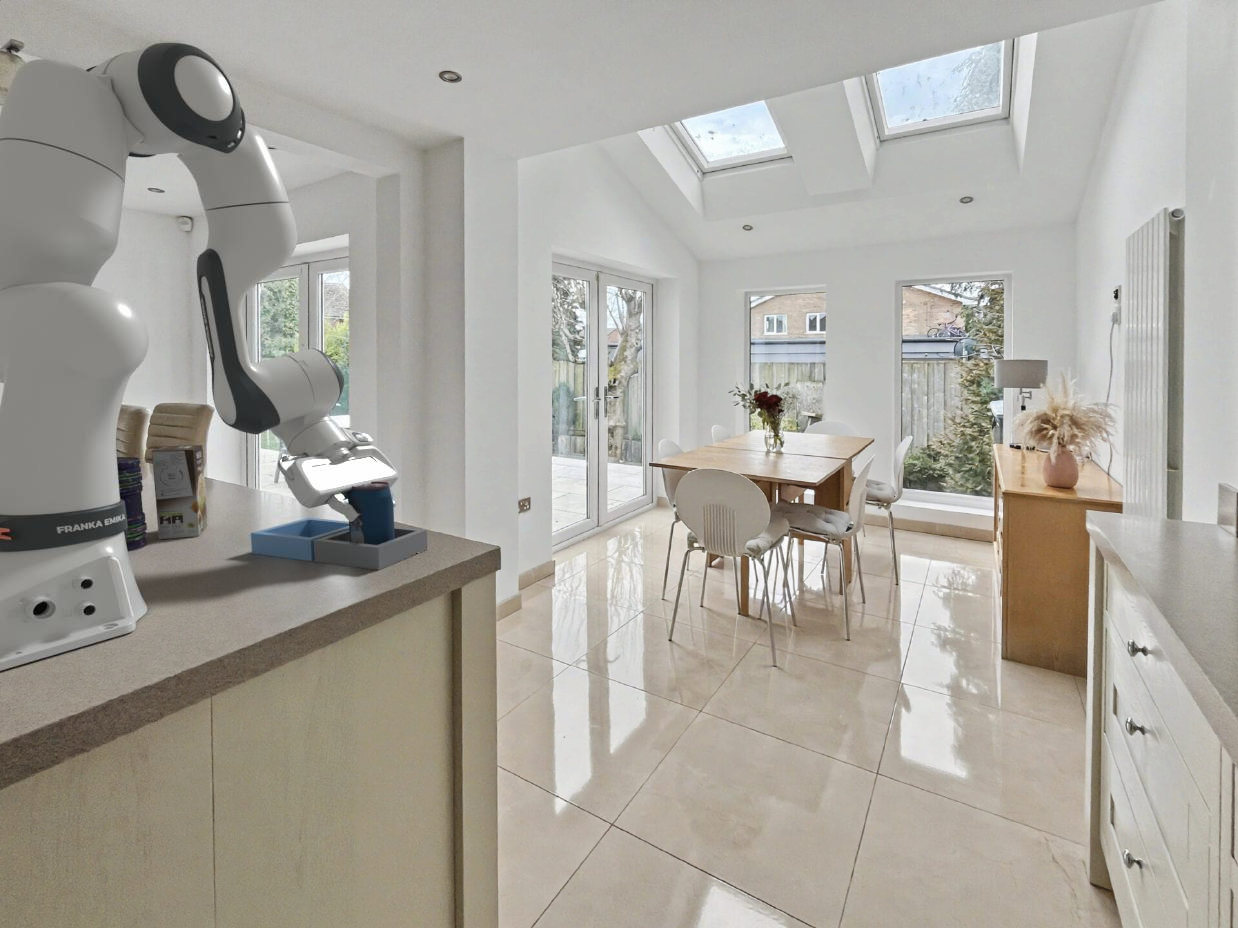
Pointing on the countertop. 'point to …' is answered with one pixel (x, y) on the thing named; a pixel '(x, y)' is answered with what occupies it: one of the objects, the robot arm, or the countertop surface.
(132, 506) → the storage jar
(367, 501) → the soda can
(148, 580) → the countertop surface
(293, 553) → the frame
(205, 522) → the coffee box
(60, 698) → the countertop surface
